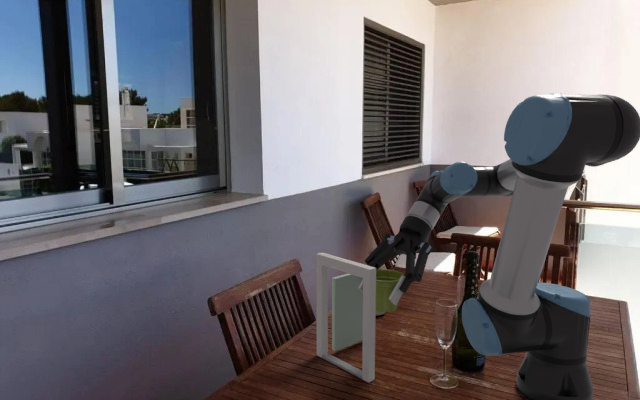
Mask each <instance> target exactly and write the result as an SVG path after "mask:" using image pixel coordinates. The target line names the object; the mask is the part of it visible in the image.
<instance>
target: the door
mask: <svg viewBox="0 0 640 400" xmlns="http://www.w3.org/2000/svg"><path fill="white" fill-rule="evenodd" d="M362 280H363V278H361V277H358V276H355V275H352V274H349V273H344V274H341V275H340V274H339V275H337V276H334V277H331V350H332V351H334V352H338V351H340V350H342V349H345V348H347V347H350V346H352V345H354V344H357V343H359V342H363V293H362V292H361V291H360V290H359V289H358V286H359V285H360V283H361V281H362Z"/></svg>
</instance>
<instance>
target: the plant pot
mask: <svg viewBox="0 0 640 400" xmlns="http://www.w3.org/2000/svg"><path fill="white" fill-rule="evenodd" d="M404 274H405V273H404V272H401V271H397V270H395V269H394V270H393V269H385V268H384V269H381V268H379V269H377V270H376V311H378V312H385V313H386V312H388V313H393V312H396V310H398V306H399V305H398V304H399V302H398V303H397V304H396V305H394V304H393V303H392V302H391V301H390V300H389V299H388V298H389V297H390V295H391V293H392V291H393V290H394V288H395V286H396V284H397V283H398V281H399V279H400V277H401V276H404V277H406V276H405V275H404Z"/></svg>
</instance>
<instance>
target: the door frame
mask: <svg viewBox="0 0 640 400" xmlns="http://www.w3.org/2000/svg"><path fill="white" fill-rule="evenodd" d="M315 259H316V263H315V265H316V266H315V271H316V274H315V276H316V277H315V279H316V283H315V284H316V286H315V287H316V288H315V289H316V294H315V296H316V298H315V300H316V301H315V302H316V306H315V307H316V356H318V357H320V359H323V360H324V361H327V362H329V363H331V364H332V365H335V366H336V367H339V368H340V369H342V370H344V371H346V372H348V373H350V374H351V375H353V376H356V377H357V378H359V379H361V380H363V381H365V382H366V383H372V382H373V381H375V380H376V379H375V377H376V376H375V375H376V374H375V371H376V268H375V267H371V266H368V265H367V264H365V263H360V262H357V261H353V260H351V259H346V258H342V257H340V256H336V255H334V254H330V253H326V252H318V253H316V254H315ZM329 268H331V269H333V270H337V271H340V272H343V273H344V274H348V273H349V274H352V275H355V276H358V277H361V278H363V340H362V352H361V353H362V355H361V356H362V362H361V364H362V365H361V366H362V367H361V368H362V369H360V368H358V367H356V366H354V365H351V364H350V363H348V362H346V361H344V360H342V359H340V358H338V357H336V356H334V355H332V354H330V353H329V310H328V309H329V298H328V297H329V290H328V289H329V287H328V286H329V285H328V284H329V277H328V276H329V271H328V270H329Z"/></svg>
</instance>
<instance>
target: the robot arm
mask: <svg viewBox="0 0 640 400" xmlns="http://www.w3.org/2000/svg"><path fill="white" fill-rule="evenodd" d="M503 141H504V142H505V145H504V151H505V152H506V155H507V156H508V158H509V159H508V160H506V161H504V162H502V163H500V164H497V165H491V166H490V165H489V166H483V165H482V166H472V165H471V164H469V163H468V162H465V161H456V162H454V163H452V164H450V165H449V166H448V165H447V166H446V168H444V169H443V170H435V171H433V172H432V173H431V174H430V177H429V178H427V179H426V181H425V184H424V186H423V187H422V190H421V191H420V193H419V195H418V196H417V198H416V200H414V203H413V204H412V206H411V207H410V209H409V211H408V212H407V214H406V216H405V217H404V219H403V220H402V223H400V225H399V231H398V232H397V234H395V235H391V234H390V233H386V234H385V235H384V237H383V239H382V240H381V241H380V243H379V244H378V245H377V246H376V247H375V249H374V250H373V251H372V252H371V253H370V254H368V256H367V257H366V258H364V264H365V265H368V266H371V267H375V268H376V270H380V269H381V267H383V266H384V265H385V264H386V263H388V262H389V261H390V260H391V259H393V258H394V257H397V256H399V255H405V273H403V274H404V275H405V277H404V276H401V277H400V279H399V281H398V283H397V284H396V286H395V288H394V290H393V291H392V293H391V295H390V297H389V298H388V299H389V300H390V301H391V302H392V303H393V304H394V305H396V304H397V303H398V304H399V301H400V299H401V297H402V295H403V294H405V293H406V292H407V291H408V290H409V288H410V286H411V284H412V283H414V282H418V283H420V282H421V281H422V280H423V279H422V278H423V275H424V273H425V268H426V265H427V262H428V258H429V255H430V254H431V252H432V250H433V247H432V246H431V245H430V243H429V242H428V239H429V237H430V235H431V233H432V230H433V229H434V227H435V226H436V225H437V222H438V220H439V219H440V217H441V216H442V213H443V212H444V211H445V208H446V207H447V205H448V204H449V203H452V202H454V201H455V200H456V199H459V198H481V197H500V196H502V197H511V198H510V203H509V206H508V209H507V214H506V218H505V220H504V226H503V229H502V233H501V236H500V237H501V238H500V239H499V245H498V247H497V253H496V257H495V259H494V263H493V268H492V271H491V275H490V278H489V279H486V280H484V281H483V282H482V283H481V284H480V286H479V287H480V288H479V290H478V295H477V297H475V298H473V297H470V298H469V299H466V300H465V301H464V302H463V304H462V306H461V321H462V325H463V329H464V332H465V335H466V338H467V340H468V341H469V343H470V345H471V347H472V348H473V350H475V351H476V352H477V353H478V354H480V355H483V356H492V357H493V356H497V357H499V356H502V355H503V356H504V355H510V354H511V355H512V354H519V353H520V354H521V353H525V356H524V358H523V360H522V361H521V364H520V366H519V367H518V368H519V369H518V370H517V373H516V387H517V389H518V391H520V392H521V393H522V394H523V395H524V396H525V397H527V398H528V399H529V400H593V398H594V385H593V382H592V378H591V375H590V372H589V368H588V365H587V356H588V355H587V354H588V344H589V334H590V323H591V318H592V314H591V301H590V300H591V299H590V298H589V296H588V295H586V294H585V293H583V292H582V291H579V290H577V289H574V288H571V287H568V286H564V285H560V284H557V283H550V282H539V280H540V278H541V275H542V271H543V267H544V265H545V261H546V257H547V256H548V253H549V252H548V251H549V249H550V245H551V242H552V240H553V235H554V233H555V229H556V227H557V223H558V221H559V217H560V213H561V210H562V207H563V204H564V201H565V199H566V195H567V191H568V188H569V187H571V186H573V185H574V184H577V183H579V182H580V181H581V179H582V177H583V173H584V171H585V168H586V166H587V167H590V168H591V167H593V168H594V167H595V168H596V167H599V166H604V165H605V164H606V165H607V164H608V163H611V162H615V161H617V160H620V159H622V158H624V157H626V156H627V155H629V154H630V153H631V152H632V151H633V150H634V149H635V148H636V147H637V145H638V143H639V142H640V114H639V112H638V110H636V108H635V107H634V105H632V104H631V103H630V102H628V101H627V100H626V99H624V98H621V97H619V96H616V95H611V94H577V93H576V94H572V93H571V94H570V93H567V94H566V93H557V92H554V93H548V94H537V95H536V94H535V95H531V96H528V97H526V98H525V99H524V100H523V101H521V102H519V103H518V104H517V105H516V106H515V107H514V109H513V110H512V112H511V113H510V115H509V117H508V118H507V121H506V124H505V128H504V133H503ZM394 248H395V249H394ZM417 251H419V252H418V255H417ZM358 289H359V290H360V291H361V292H362V293H363V280H362V281H361V283H360V285H359V286H358Z"/></svg>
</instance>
